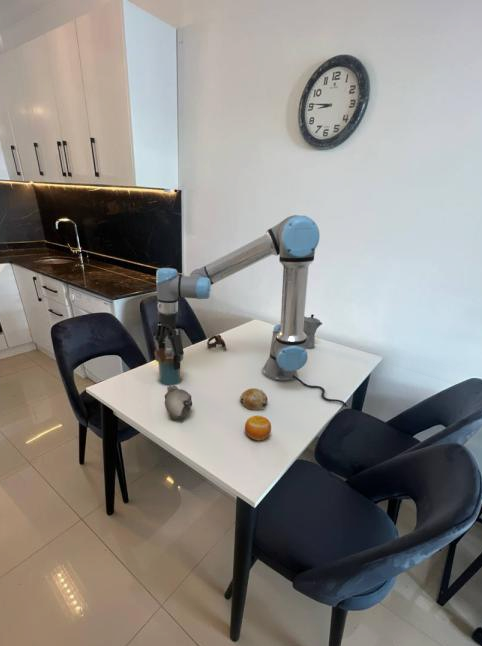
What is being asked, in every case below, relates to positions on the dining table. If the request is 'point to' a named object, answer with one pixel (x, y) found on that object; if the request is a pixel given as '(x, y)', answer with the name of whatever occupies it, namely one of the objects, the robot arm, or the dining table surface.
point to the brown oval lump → (254, 399)
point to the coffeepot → (310, 329)
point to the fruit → (258, 427)
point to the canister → (168, 374)
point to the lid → (165, 355)
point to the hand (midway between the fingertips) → (169, 363)
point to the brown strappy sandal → (218, 342)
